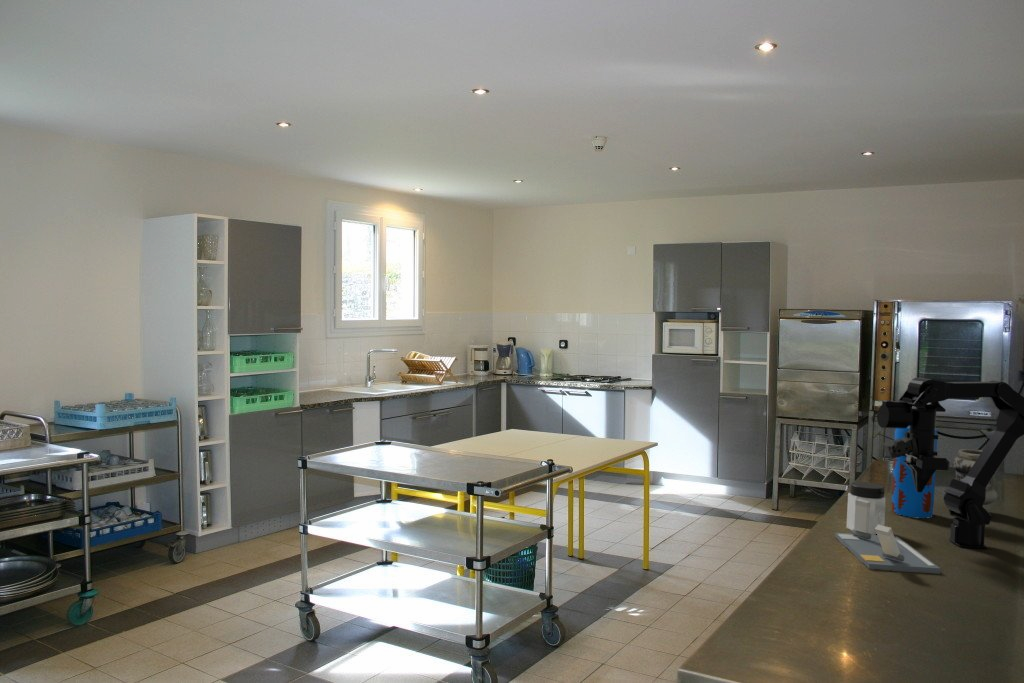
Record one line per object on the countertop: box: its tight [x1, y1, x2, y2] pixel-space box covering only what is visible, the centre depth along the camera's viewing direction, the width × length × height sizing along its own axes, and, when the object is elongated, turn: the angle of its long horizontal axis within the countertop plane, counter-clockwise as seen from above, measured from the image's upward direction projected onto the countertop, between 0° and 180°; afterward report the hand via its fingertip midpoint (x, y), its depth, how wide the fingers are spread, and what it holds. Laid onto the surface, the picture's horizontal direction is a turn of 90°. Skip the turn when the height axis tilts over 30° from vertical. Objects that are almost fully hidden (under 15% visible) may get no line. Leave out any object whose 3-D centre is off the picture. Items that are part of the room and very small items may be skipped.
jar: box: [846, 481, 887, 535], centre depth 206 cm, size 9×8×12 cm
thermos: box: [891, 426, 938, 519], centre depth 225 cm, size 11×11×25 cm
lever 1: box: [851, 499, 871, 539], centre depth 194 cm, size 2×4×9 cm, turn 34°
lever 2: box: [875, 525, 904, 562], centre depth 176 cm, size 2×4×9 cm
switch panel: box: [834, 532, 941, 575], centre depth 185 cm, size 15×25×1 cm, turn 174°
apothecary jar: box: [951, 448, 998, 516], centre depth 229 cm, size 12×12×18 cm
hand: (918, 491), depth 195 cm, fingers closed
